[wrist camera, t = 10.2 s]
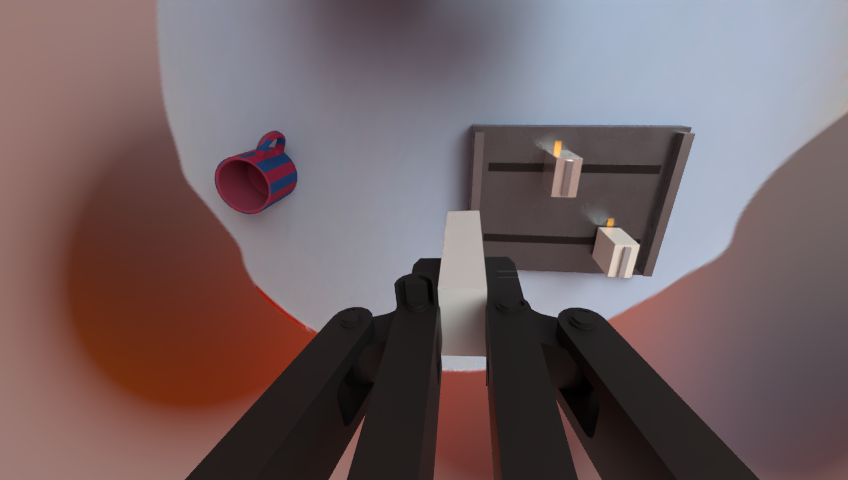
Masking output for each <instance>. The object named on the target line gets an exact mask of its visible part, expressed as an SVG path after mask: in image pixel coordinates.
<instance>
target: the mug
mask: <svg viewBox="0 0 848 480" xmlns="http://www.w3.org/2000/svg"><path fill="white" fill-rule="evenodd" d="M276 138H277V142H276V145H275V148H272V147H269V145H270V144H271V143H272V142H273V141H274V140H275V139H276ZM284 147H285V136H284V135H283V134H282V133H280V132H278V131H271V132H269V133H267V134H266V135H265V136H263V137H262V139H261V140H260V142H259V143H258V145H257V148H256V149H255V150H252V151H249V152H246V153H242V154H239V155H236V156H232V157H229V158H227V159H225V160H223V161H222V162H221V163H220V164H219V165H218V167H217V169H216V172H215V184H216V188H217V190H218V193H219V195H220V196H221V198H222V199H223V200H224V201H225V203H227V204H228V205H229V206H230V207H232V208H233V209H235V210H237V211H239V212H242V213H246V214H255V213H258V212H261V211H263V210H264V209H266V208H267V207H269V206H271V205H272V204H274V203H275V202H277V201H279V200H280V199H282V198H283V197H285V196H287V195H288V194H290V193H291V192H292V191H293V189H294V188H295V186H296V183H297V172H296V168H295V166H294V164H293V162H292V161H291V159H290V158H289V157H288V156H287V155H286V154H285V153H283V151H284Z"/></svg>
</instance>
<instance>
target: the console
mask: <svg viewBox="0 0 848 480" xmlns="http://www.w3.org/2000/svg"><path fill="white" fill-rule="evenodd" d="M690 131H691V127H685V126H647V125H473V130H472V150H471V169H470V189H469V209H468V211H479V213H480V223H481V233H482V243H483V253H484V257H509V258H510V259H511V260H512V261H513V262H514V263H515V266H516V270H536V271H560V272H583V273H604V272H603V270H602V269H601V268H600V266H599V265H598V264H597V263H596V261H595V260H594V259H593V257H592V255H593V250H594V246H595V241H596V236H597V232H598V227H607V228H621V229H622V230H623V231H624V232H625V233H627V234H628V235H629V236H630V237H631V238H632V239H633V240H634V241H636V242H637V243H638V244H639V245H640V247H639V251H638V254H637V258H636V261H635V265H634V269H633V272H632V275H642V276H652V273H653V270H654V267H655V263H656V260H657V257H658V254H659V250H660V247H661V244H662V241H663V237H664V234H665V231H666V227H667V224H668V221H669V218H670V214H671V211H672V208H673V204H674V201H675V198H676V195H677V191H678V188H679V185H680V182H681V178H682V175H683V172H684V168H685V165H686V162H687V159H688V155H689V152H690V149H691V145H692V142H693V139H694V136H695V134H693V133H690Z"/></svg>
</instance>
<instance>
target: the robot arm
mask: <svg viewBox="0 0 848 480" xmlns="http://www.w3.org/2000/svg"><path fill="white" fill-rule="evenodd" d="M394 286H395V294H396V301H397V308H396V310H395V311H393V312H391V313H388V314H384V315H380V316H375V317H372V313H371V312H370V311H369V310H368V309H365V308H362V307H352V308H347V309H345V310H342V311H340V312H338V313H337V314H336V315H335V316H333V317H332V319H331V320H330V321H329V322H328V323H327V324H326V325H325V326H324V327H323V328H322V330H321V331H320V332H319V333H318V334H317V335H316V336H315V337H314V339H312V341H311V342H310V343H309V344H308V345H307V346H306V347H305V348H304V349H303V351H302V352H301V353H300V354H299V355H298V356H297V357H296V358H295V359H294V360H293V361H292V363H291V364H290V365H289V366H288V367H287V368H286V369H285V370H284V371H283V373H282V374H281V375H280V376H279V377H278V378H277V379H276V380H275V381H274V382H273V383H272V385H271V386H270V387H269V388H268V389H267V390H266V391H265V392H264V393H263V394H262V396H261V397H260V398H259V399H258V400H257V401H256V402H255V403H254V404H253V406H251V408H250V409H249V410H248V411H247V412H246V413H245V414H244V415H243V416H242V417H241V419H240V420H239V421H238V422H237V423H236V424H235V425H234V426H233V428H231V430H230V431H229V432H228V433H227V434H226V435H225V436H224V437H223V438H222V439H221V441H220V442H219V443H218V444H217V445H216V446H215V447H214V448H213V449H212V450H211V452H210V453H209V454H208V455H207V456H206V457H205V458H204V459H203V460H202V461H201V463H200V464H199V465H198V466H197V467H196V468H195V469H194V470H193V471H192V472H191V474H190V475H189V476H188V477H187V478H186V479H185V480H329V478H330V476H331V474H332V473H333V471H334V469H335V467H336V465H337V464H338V462H339V460H340V458H341V456H342V455H343V453H344V451H345V450H346V448H347V446H348V444H349V442H350V441H351V439H352V437H353V435H354V433H355V432H356V430H357V428H358V426H359V425H360V423H361V421H362V419H363V418H364V416H365V419H364V422H363V425H362V429H361V432H360V436H359V440H358V443H357V446H356V450H355V453H354V457H353V460H352V464H351V467H350V470H349V474H348V477H347V480H433V478H434V477H433V476H434V465H435V452H436V439H437V425H438V412H439V399H440V386H441V373H442V361H441V352H442V355H449V356H486V386H488V401H489V414H490V415H489V416H490V430H491V445H492V461H493V476H494V480H578V478H577V474H576V471H575V467H574V463H573V460H572V456H571V452H570V449H569V445H568V441H567V438H566V434H565V430H564V427H563V423H562V419H561V416H560V412H559V409H558V405H557V401H558V403H559V405H560V407H561V408H562V410H563V412H564V414H565V415H566V417H567V419H568V420H569V422H570V424H571V426H572V428H573V429H574V431H575V433H576V435H577V437H578V438H579V440H580V442H581V443H582V445H583V447H584V449H585V451H586V452H587V454H588V456H589V458H590V460H591V461H592V463H593V465H594V467H595V468H596V470H597V472H598V473H599V475H600V477H601V479H602V480H759V479H758V478H757V477H756V475H755V474H754V473H753V472H752V471H751V470H750V469H749V468H748V467H747V466H746V465H745V464H744V463H743V462H742V461H741V460H740V459H739V458H738V457H737V456H736V455H735V454H734V453H733V452H732V451H731V449H729V447H727V445H726V444H725V443H724V442H723V441H722V440H721V439H720V438H719V437H718V436H717V435H716V434H715V433H714V432H713V431H712V430H711V429H710V428H709V427H708V426H707V425H706V423H705V422H704V421H703V420H702V419H701V418H700V417H699V416H698V415H697V414H696V413H695V412H694V411H693V410H692V409H691V408H690V407H689V406H688V405H687V404H686V403H685V402H684V401H683V400H682V399H681V397H680V396H678V394H677V393H676V392H674V390H673V389H672V388H671V387H670V386H669V385H668V384H667V383H666V382H665V381H664V380H663V379H662V378H661V377H660V376H659V375H658V374H657V373H656V372H655V370H654V369H653V368H652V367H651V366H650V365H649V364H648V363H647V362H646V361H645V360H644V359H643V358H642V357H641V356H640V355H639V354H638V353H637V352H636V351H635V350H634V349H633V348H632V347H631V346H630V345H629V344H628V342H627V341H626V340H625V339H624V338H623V337H622V336H621V335H620V334H619V333H618V332H617V331H616V330H615V329H614V328H613V327H612V326H611V325H610V324H609V323H608V322H607V321H606V320H605V318H603V317H602V316H601V315H599V314H598V313H596V312H593V311H591V310H589V309H584V308H568V309H565V310H563V311H562V312H560V313H559V315H558V318H556V317H552V316H547V315H544V314H540V313H538V312H536V311H534V310H532V309H531V306H530V305H529V303H528V302H527V301H526V300H525V299H524V297H523V293H522V290H521V286H520V282H519V278H518V274H517V270H516V266H515V263H514V262H513V261H512V260H511V259H510V258H509V257H484V253H483V243H482V233H481V223H480V213H479V211H448V213H447V220H446V228H445V236H444V244H443V251H442V258H420V259H419V260H418V261H417V262H416V263H415V264H414V266H413V269H412V273H411V274H408V275H405V276H402V277H401V278H399V279H398V280H397V281H396V282H395V284H394ZM556 400H557V401H556ZM365 414H366V415H365Z"/></svg>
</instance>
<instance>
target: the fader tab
mask: <svg viewBox="0 0 848 480" xmlns="http://www.w3.org/2000/svg"><path fill="white" fill-rule="evenodd" d="M639 247H640V245H639V244H638V243H637V242H636V241H634V240H633V239H632V238H631V237H630V236H629V235H628V234H627V233H625V232H624V231H623V230H622V229H621V228H607V227H598V232H597V236H596V241H595V246H594V250H593V255H592V257H593V259H594V260H595V261H596V263H597V264H598V265H599V266H600V268H601V269H602V270H603V272H604V273H605V274H606V275H607V277H619V278H631V276H632V272H633V269H634V265H635V261H636V258H637V254H638V251H639Z"/></svg>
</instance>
